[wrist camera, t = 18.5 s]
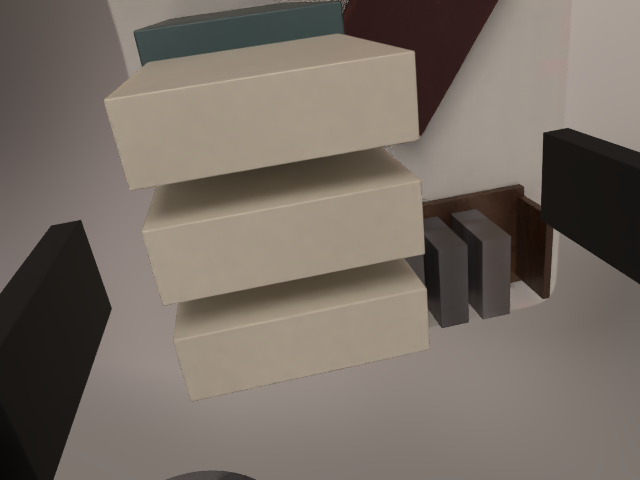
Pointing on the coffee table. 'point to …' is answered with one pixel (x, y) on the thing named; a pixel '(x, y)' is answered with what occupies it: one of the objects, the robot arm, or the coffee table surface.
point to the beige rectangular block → (262, 108)
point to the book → (422, 38)
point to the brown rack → (482, 253)
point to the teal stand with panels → (283, 240)
